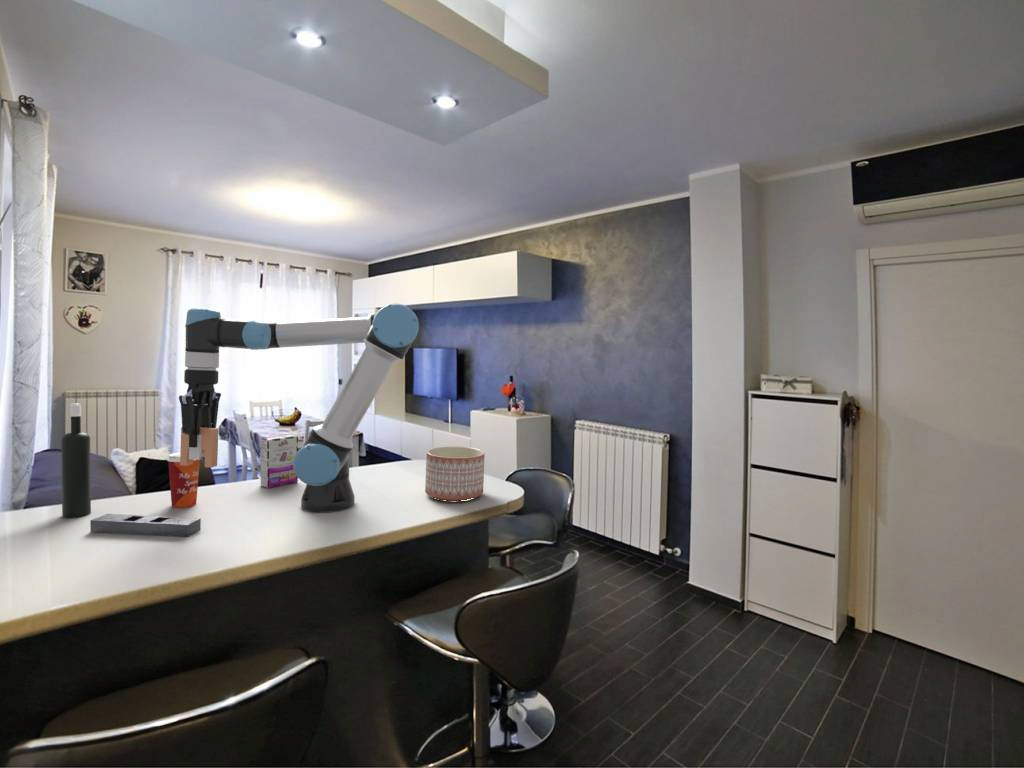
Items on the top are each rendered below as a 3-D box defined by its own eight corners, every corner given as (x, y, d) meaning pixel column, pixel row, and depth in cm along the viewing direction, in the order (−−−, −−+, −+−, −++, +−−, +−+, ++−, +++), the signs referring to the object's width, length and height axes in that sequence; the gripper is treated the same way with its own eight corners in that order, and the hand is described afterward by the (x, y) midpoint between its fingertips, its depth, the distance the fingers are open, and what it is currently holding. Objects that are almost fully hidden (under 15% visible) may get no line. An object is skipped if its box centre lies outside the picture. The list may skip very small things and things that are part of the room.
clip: (217, 465, 131) (218, 428, 131) (211, 467, 129) (212, 429, 128) (186, 463, 132) (187, 426, 131) (180, 465, 129) (181, 427, 129)
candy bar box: (289, 479, 176) (290, 434, 175) (298, 482, 173) (298, 435, 172) (259, 486, 167) (259, 437, 166) (267, 488, 164) (268, 439, 163)
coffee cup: (184, 510, 139) (184, 457, 139) (159, 507, 141) (159, 455, 140) (207, 502, 148) (208, 452, 147) (184, 499, 149) (184, 450, 148)
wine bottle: (92, 515, 133) (91, 403, 131) (63, 519, 129) (62, 404, 127) (89, 509, 137) (88, 401, 135) (61, 514, 133) (59, 402, 131)
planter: (494, 494, 168) (495, 451, 167) (458, 508, 152) (460, 460, 151) (450, 484, 178) (451, 444, 177) (412, 496, 162) (414, 451, 161)
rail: (200, 529, 126) (200, 518, 125) (187, 537, 121) (187, 524, 120) (107, 525, 126) (107, 513, 126) (90, 532, 121) (90, 520, 121)
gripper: (207, 367, 137) (204, 451, 138) (165, 368, 121) (163, 463, 122) (233, 369, 136) (230, 453, 138) (195, 370, 121) (192, 465, 122)
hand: (198, 457), depth 130 cm, fingers closed on clip, 2 cm apart
